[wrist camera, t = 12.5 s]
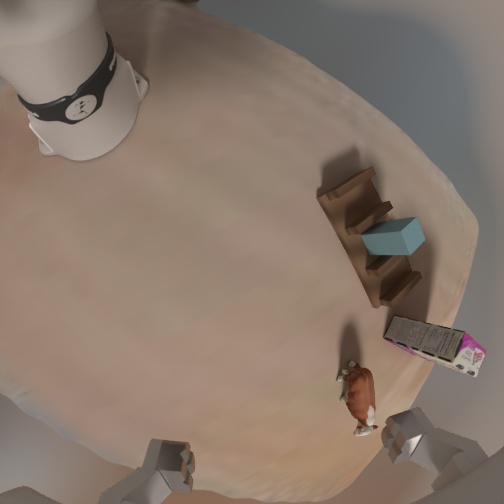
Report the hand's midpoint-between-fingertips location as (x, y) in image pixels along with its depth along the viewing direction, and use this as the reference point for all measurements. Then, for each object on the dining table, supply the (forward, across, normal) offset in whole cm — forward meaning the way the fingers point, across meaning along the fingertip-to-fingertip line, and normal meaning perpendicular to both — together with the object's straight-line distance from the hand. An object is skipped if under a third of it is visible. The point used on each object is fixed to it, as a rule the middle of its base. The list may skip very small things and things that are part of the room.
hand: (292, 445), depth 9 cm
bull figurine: (+27, -14, +23) cm, 38 cm away
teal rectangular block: (+32, -19, -2) cm, 37 cm away
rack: (+33, -19, -1) cm, 38 cm away
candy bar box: (+31, -27, +17) cm, 45 cm away
